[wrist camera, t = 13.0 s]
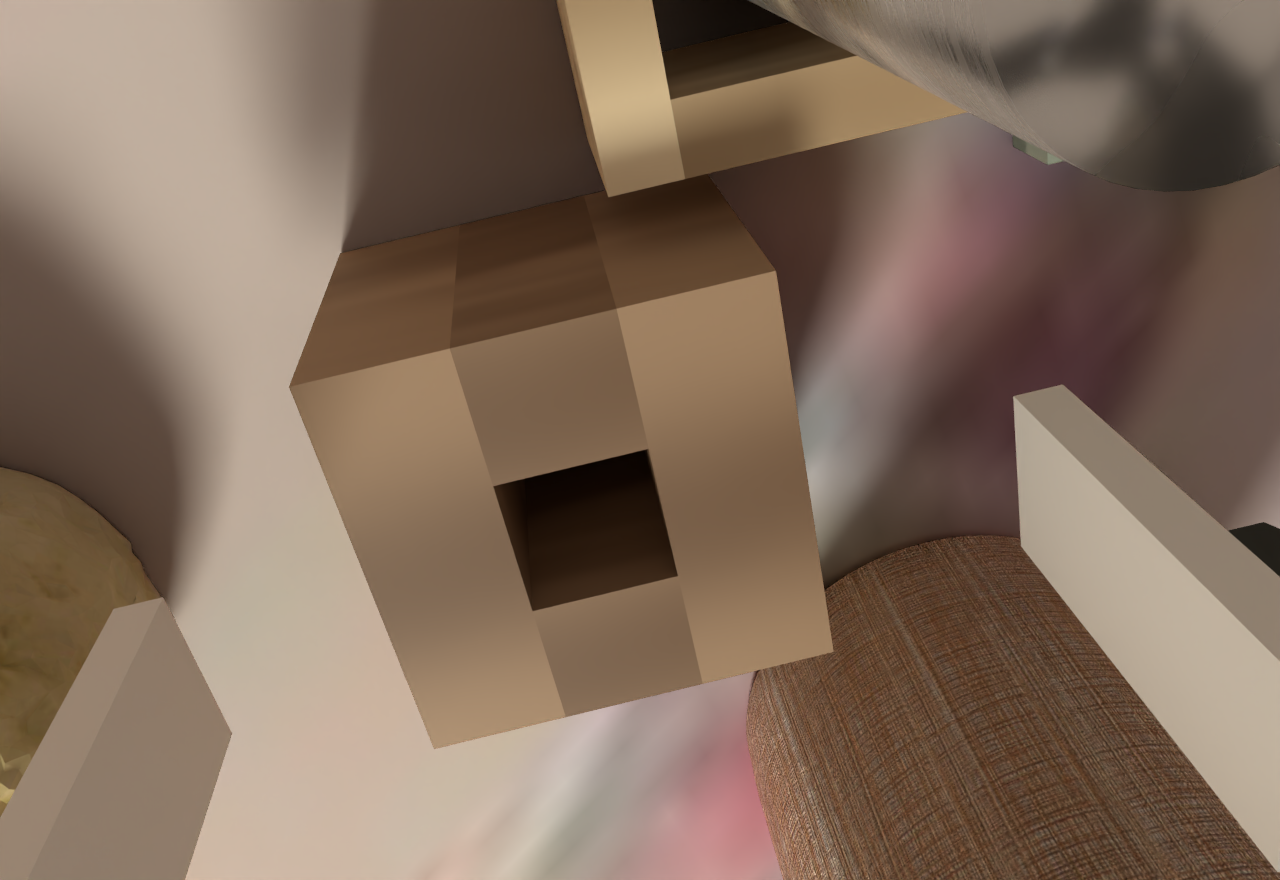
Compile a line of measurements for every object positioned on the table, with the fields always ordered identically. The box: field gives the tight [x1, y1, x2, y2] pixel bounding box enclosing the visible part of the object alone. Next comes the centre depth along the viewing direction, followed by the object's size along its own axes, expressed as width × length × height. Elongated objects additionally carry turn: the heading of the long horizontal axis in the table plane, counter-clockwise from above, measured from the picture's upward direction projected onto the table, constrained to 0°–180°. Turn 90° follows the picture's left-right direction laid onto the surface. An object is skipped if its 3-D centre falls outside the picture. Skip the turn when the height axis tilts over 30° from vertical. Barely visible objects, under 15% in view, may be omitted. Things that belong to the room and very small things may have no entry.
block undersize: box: [289, 174, 834, 749], centre depth 20 cm, size 7×7×6 cm
